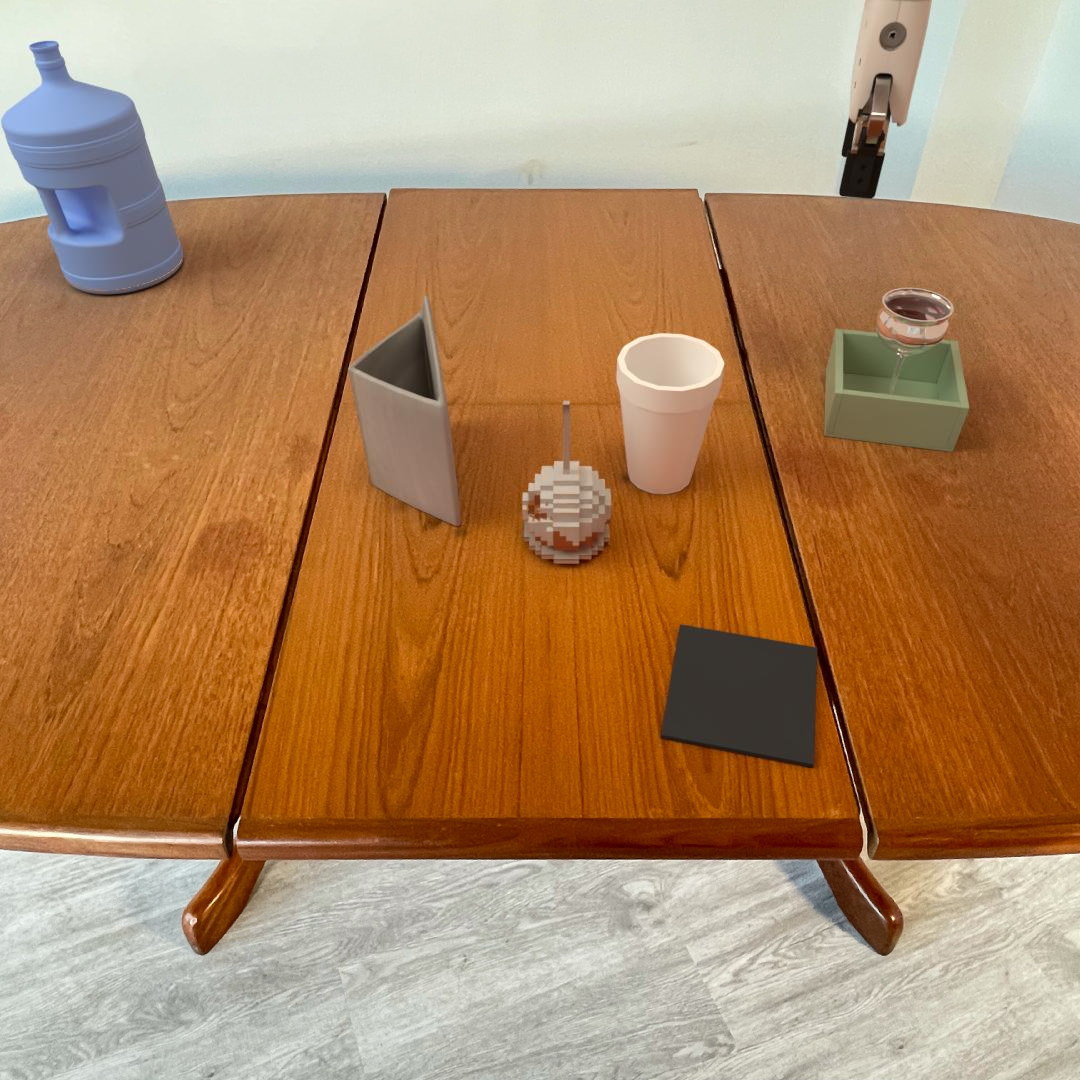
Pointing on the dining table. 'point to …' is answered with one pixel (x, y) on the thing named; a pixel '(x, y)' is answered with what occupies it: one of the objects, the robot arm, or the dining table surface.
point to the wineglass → (912, 323)
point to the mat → (743, 695)
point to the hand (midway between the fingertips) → (856, 175)
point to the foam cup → (666, 406)
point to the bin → (919, 395)
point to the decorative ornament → (567, 508)
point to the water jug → (93, 180)
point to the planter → (408, 418)
